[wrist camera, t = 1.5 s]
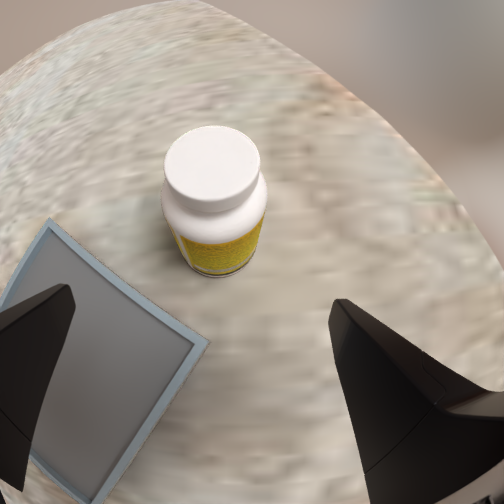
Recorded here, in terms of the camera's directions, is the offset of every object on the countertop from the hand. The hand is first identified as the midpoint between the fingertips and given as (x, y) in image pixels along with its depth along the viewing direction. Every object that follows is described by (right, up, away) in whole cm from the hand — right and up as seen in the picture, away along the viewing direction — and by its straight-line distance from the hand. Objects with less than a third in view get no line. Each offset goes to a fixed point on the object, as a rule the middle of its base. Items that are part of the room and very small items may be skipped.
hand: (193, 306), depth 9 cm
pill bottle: (-1, +2, +15) cm, 15 cm away
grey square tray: (-13, -8, +10) cm, 18 cm away
